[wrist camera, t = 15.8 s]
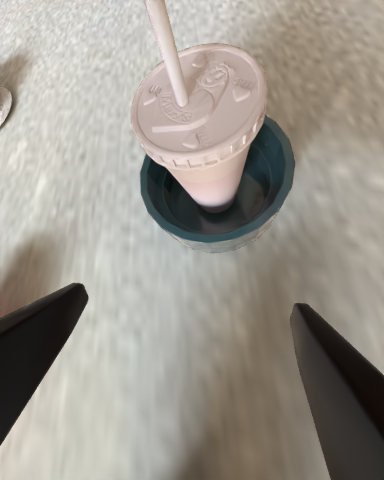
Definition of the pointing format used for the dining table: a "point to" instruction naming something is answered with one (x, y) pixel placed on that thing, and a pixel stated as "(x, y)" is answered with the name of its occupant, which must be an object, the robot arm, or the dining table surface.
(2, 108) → the teacup
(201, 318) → the dining table surface
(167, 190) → the bowl
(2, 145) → the dining table surface
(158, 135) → the smoothie
